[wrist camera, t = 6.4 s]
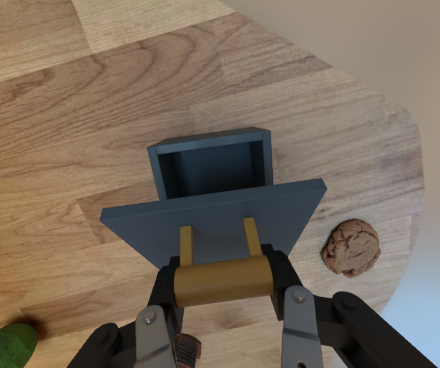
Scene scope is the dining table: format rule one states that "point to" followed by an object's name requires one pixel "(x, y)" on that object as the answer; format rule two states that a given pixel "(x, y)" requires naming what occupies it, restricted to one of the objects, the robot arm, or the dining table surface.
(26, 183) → the dining table surface
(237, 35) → the dining table surface
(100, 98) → the dining table surface
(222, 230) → the lid
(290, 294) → the robot arm
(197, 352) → the pottery mug
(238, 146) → the chest
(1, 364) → the avocado
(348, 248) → the cookie
